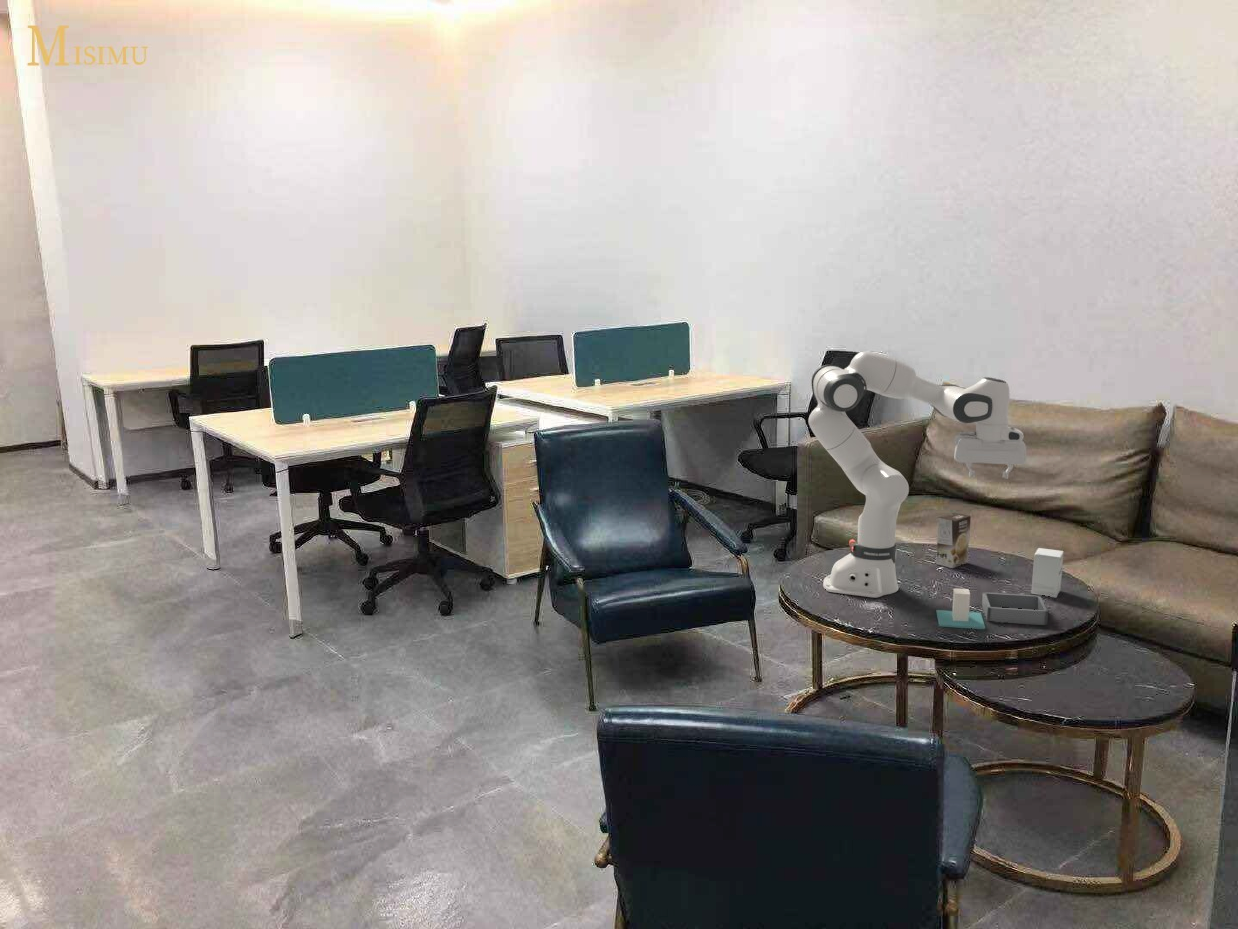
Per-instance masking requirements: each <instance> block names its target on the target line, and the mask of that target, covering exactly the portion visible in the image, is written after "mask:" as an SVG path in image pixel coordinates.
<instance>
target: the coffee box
mask: <svg viewBox="0 0 1238 929" xmlns="http://www.w3.org/2000/svg"><path fill="white" fill-rule="evenodd" d="M971 521H972V520H971V515H969V514H968V515H967V514H963V513H957V512H952V513H949V514H946V515H945V514H944V515H941V516H939V517H938V526H937V538H936V539H937V540H936V541H937V543H936V556H935V557H936V558H935V559H936V560H935V564H936V565H939V566H942V567H946V568H950V569H954V568H957V567H959V566H962V565H965V564H967V563H968V560H969V547H970V545H969V544H970V532H971V531H970V530H971ZM961 564H962V565H961Z"/></svg>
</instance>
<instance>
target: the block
mask: <svg viewBox="0 0 1238 929" xmlns="http://www.w3.org/2000/svg"><path fill="white" fill-rule="evenodd" d="M970 601H971V593H970V590H969V589H968V588H955V587H954V588H953V595H952V609H951V611H952V617H953V621H969V612H970V606H971V603H970Z"/></svg>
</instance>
